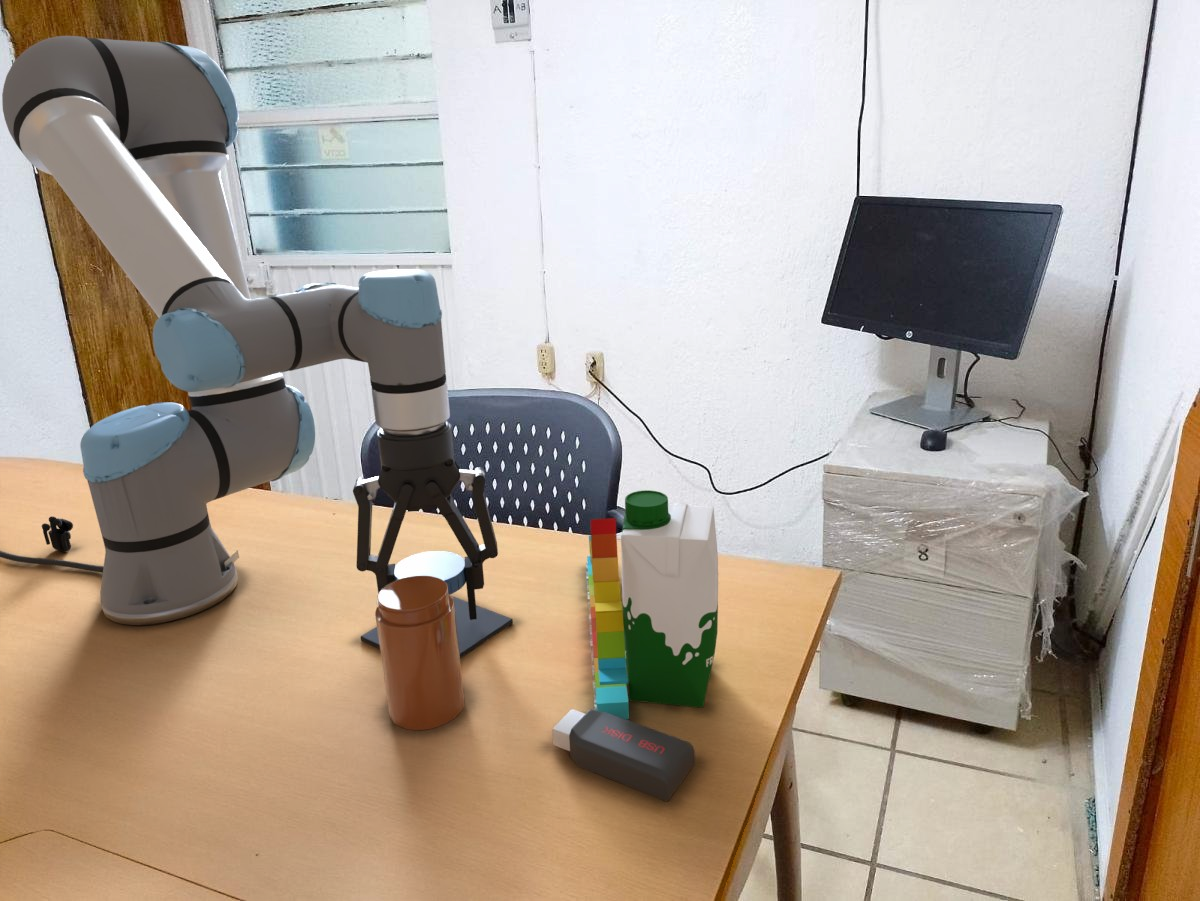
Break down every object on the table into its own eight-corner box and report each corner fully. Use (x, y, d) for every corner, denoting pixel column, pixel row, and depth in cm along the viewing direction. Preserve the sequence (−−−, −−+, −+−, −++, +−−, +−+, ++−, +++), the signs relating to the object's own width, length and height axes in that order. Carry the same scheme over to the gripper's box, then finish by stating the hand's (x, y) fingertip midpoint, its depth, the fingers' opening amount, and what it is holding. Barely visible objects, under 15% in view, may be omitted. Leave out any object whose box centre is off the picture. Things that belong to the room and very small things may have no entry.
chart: (585, 569, 106) (580, 459, 101) (610, 568, 106) (607, 458, 101) (594, 721, 78) (588, 579, 73) (628, 719, 78) (625, 577, 73)
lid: (482, 577, 92) (480, 562, 91) (428, 607, 86) (426, 591, 86) (434, 559, 97) (432, 544, 96) (379, 586, 91) (377, 571, 90)
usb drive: (668, 802, 68) (667, 775, 67) (547, 753, 74) (545, 728, 73) (695, 763, 72) (695, 737, 71) (579, 720, 78) (577, 696, 77)
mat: (360, 640, 92) (360, 636, 92) (439, 595, 101) (439, 590, 101) (436, 675, 86) (435, 670, 85) (513, 623, 95) (512, 618, 94)
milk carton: (633, 655, 88) (628, 479, 81) (719, 662, 86) (722, 483, 79) (618, 706, 80) (612, 516, 73) (713, 715, 78) (716, 521, 71)
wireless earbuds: (44, 547, 118) (35, 515, 117) (62, 540, 120) (53, 508, 119) (70, 557, 115) (61, 524, 113) (88, 550, 117) (79, 518, 115)
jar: (373, 712, 80) (356, 598, 76) (429, 676, 85) (415, 566, 81) (425, 740, 76) (409, 620, 72) (479, 699, 81) (468, 586, 77)
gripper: (511, 406, 90) (524, 591, 98) (316, 421, 87) (345, 610, 95) (515, 427, 83) (529, 624, 91) (304, 443, 80) (336, 646, 88)
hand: (435, 617), depth 93 cm, fingers closed on lid, 8 cm apart
